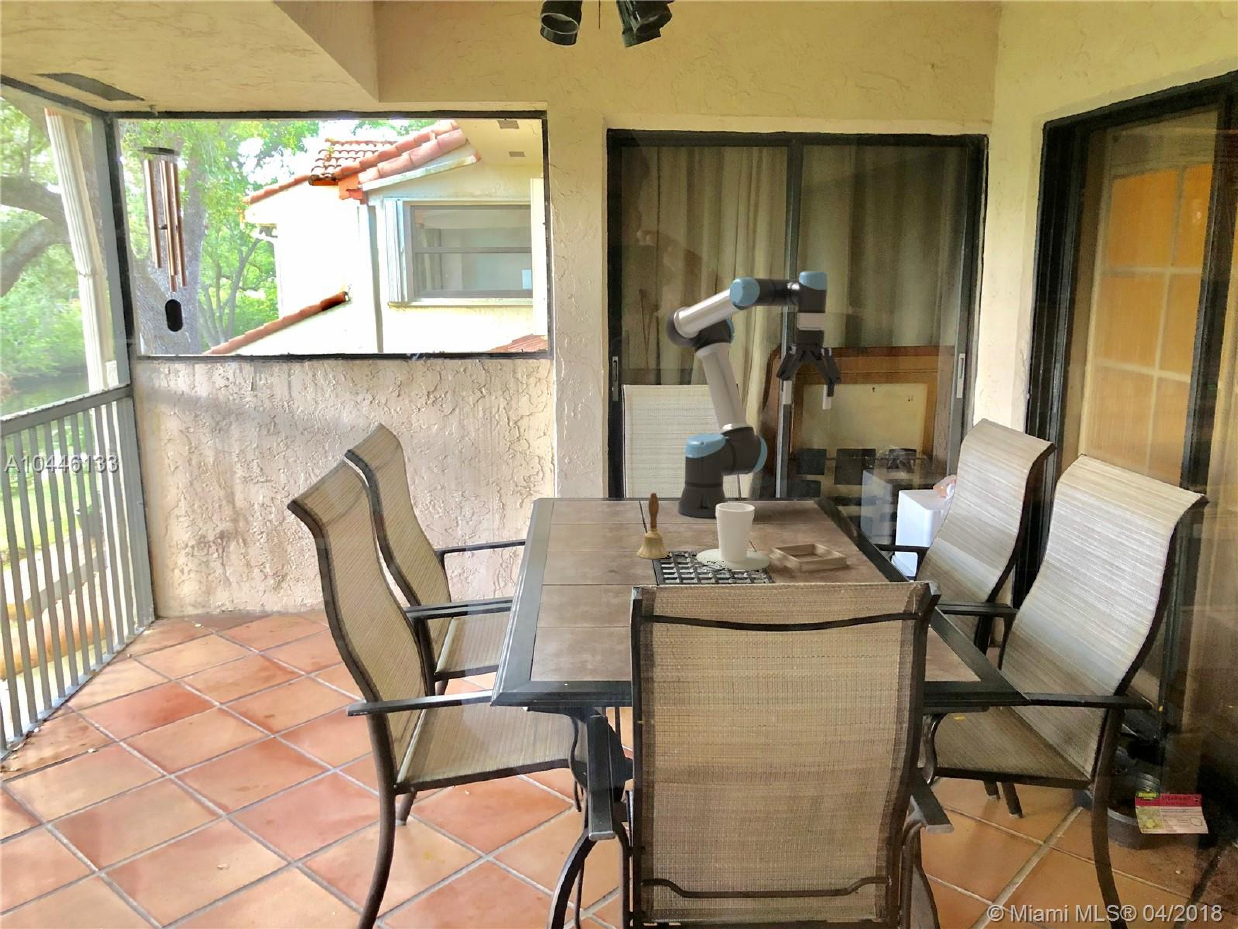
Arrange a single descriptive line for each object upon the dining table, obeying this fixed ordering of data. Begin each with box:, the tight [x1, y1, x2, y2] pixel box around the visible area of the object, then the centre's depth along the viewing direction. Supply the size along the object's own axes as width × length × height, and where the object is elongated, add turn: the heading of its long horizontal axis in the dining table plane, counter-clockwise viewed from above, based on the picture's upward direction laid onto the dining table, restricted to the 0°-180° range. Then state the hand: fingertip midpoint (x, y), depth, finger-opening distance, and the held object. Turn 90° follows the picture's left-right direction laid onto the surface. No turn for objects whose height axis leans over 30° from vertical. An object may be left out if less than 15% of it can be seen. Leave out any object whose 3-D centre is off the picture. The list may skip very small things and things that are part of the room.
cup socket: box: [768, 542, 848, 573], centre depth 224 cm, size 14×14×2 cm
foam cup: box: [715, 502, 755, 562], centre depth 223 cm, size 10×9×13 cm
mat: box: [695, 548, 771, 571], centre depth 224 cm, size 18×18×1 cm
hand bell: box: [636, 492, 670, 561], centre depth 226 cm, size 8×8×16 cm
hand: (806, 406), depth 251 cm, fingers open, 13 cm apart
